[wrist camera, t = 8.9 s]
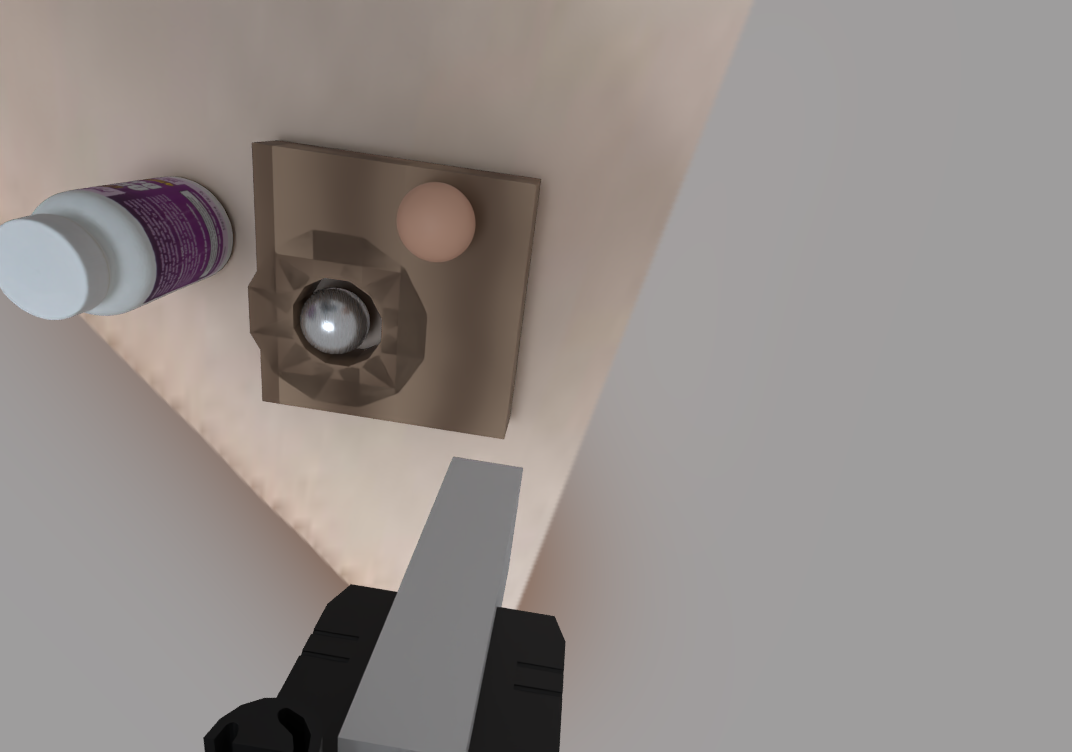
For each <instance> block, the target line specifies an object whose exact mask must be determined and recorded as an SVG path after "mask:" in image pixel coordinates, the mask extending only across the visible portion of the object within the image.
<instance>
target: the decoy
mask: <svg viewBox="0 0 1072 752" xmlns="http://www.w3.org/2000/svg"><path fill="white" fill-rule="evenodd" d="M396 224H397V230H398V234H399V236H400V239H401V241H402V242H403V244H404V245H405V247H406V248H407V249H408V250H409V251H410V252H411V253H412V254H414V255H415V256H417V257H418V258H420V259H423V260H425V261H429V262H446V261H449V260H452V259H454V258H456V257H458V256H459V255H461V254H462V253H463V252H464V251H465V250H466V249H467V248H468V246H469V245H470V243H471V241H472V239H473V236H474V233H475V224H476V222H475V215H474V211H473V208H472V206H471V204H470V202H469V201H468V199H467V198H466V197H465V195H464V194H463V193H461V192H460V191H459V190H458V189H456V188H455V187H453V186H451V185H448V184H446V183H441V182H428V183H424V184H421V185H418V186H416V187H415V188H413V189H412V190H411V191H409V192H408V193H407V194H406V195H405V197H404V198H403V199H402V201H401V203H400V205H399V208H398V211H397V217H396Z"/></svg>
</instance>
